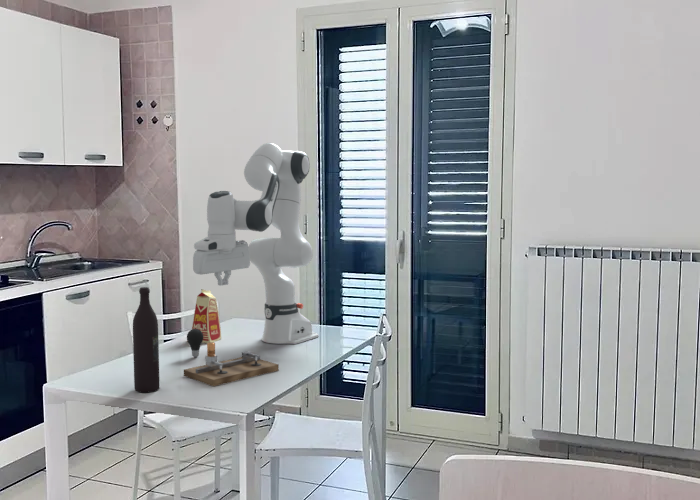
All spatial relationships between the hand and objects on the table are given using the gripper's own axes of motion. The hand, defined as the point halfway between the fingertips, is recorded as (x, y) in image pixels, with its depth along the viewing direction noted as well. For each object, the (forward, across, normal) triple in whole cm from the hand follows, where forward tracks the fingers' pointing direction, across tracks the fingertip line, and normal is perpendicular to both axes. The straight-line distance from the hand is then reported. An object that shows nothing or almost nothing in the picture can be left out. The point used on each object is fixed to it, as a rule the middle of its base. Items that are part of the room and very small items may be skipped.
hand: (223, 285), depth 229 cm
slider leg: (+24, +10, +8) cm, 28 cm away
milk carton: (+28, -18, -37) cm, 50 cm away
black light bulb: (+28, 0, -17) cm, 33 cm away
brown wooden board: (+27, +3, +8) cm, 28 cm away
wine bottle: (+26, +31, +4) cm, 41 cm away
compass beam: (+25, +3, +8) cm, 26 cm away
